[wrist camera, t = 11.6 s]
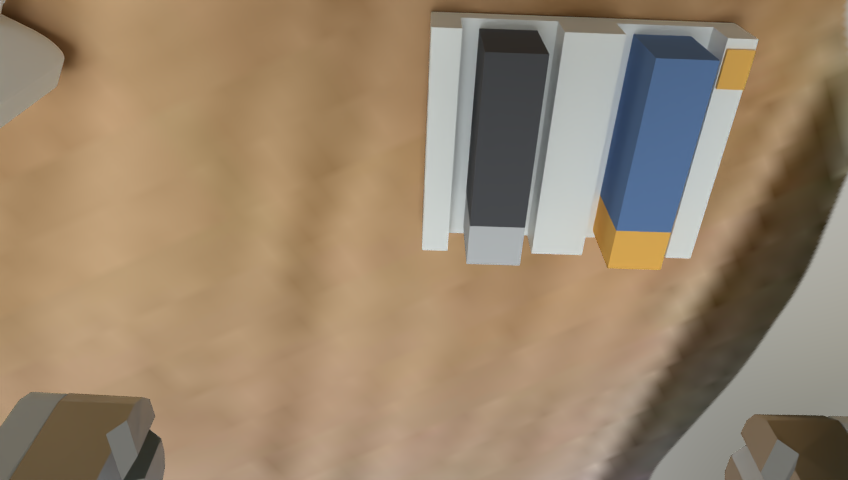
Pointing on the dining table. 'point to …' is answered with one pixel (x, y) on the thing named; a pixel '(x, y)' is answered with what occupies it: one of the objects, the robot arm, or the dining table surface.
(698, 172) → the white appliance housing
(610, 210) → the blue bar yellow end
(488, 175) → the dark grey square rod
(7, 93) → the cable organizer
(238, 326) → the dining table surface
